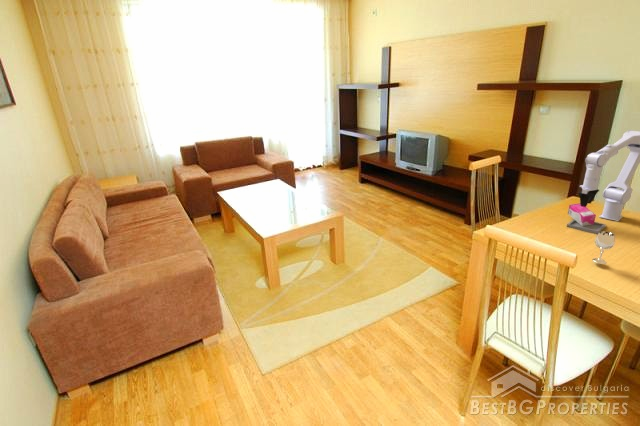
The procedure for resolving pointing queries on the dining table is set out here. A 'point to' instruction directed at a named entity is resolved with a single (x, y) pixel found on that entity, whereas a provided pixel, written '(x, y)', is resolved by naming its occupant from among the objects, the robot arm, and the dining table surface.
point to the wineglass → (604, 244)
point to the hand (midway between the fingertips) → (585, 204)
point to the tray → (587, 227)
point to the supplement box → (581, 214)
